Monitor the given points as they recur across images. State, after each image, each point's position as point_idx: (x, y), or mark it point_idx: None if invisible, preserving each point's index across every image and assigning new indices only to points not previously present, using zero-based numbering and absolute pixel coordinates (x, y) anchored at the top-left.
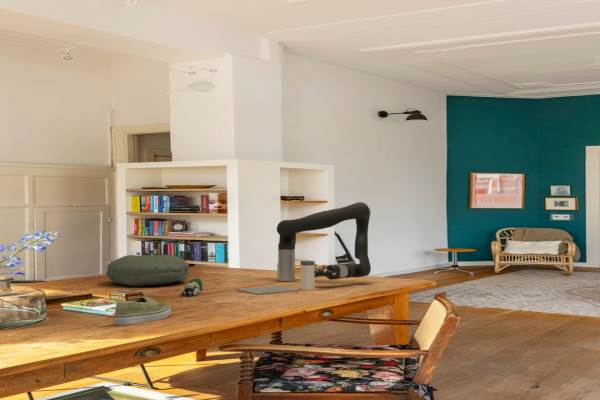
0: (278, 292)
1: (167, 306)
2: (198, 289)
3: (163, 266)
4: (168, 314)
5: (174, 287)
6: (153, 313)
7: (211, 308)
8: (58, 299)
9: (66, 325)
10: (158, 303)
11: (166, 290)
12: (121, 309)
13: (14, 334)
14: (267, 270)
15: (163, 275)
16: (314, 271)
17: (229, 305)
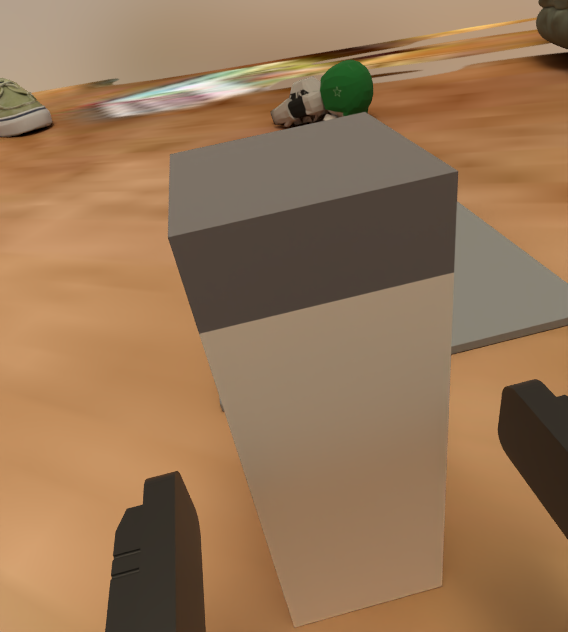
0: None
1: (4, 115)
2: (307, 108)
3: None
4: (2, 132)
5: (556, 82)
6: None
7: (26, 163)
8: (344, 50)
9: (63, 97)
10: (5, 102)
11: (461, 85)
12: None
13: (51, 90)
14: None
15: (561, 21)
16: (235, 444)
17: (30, 180)
